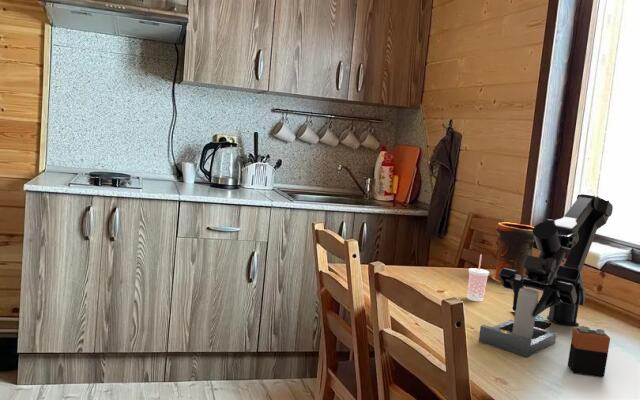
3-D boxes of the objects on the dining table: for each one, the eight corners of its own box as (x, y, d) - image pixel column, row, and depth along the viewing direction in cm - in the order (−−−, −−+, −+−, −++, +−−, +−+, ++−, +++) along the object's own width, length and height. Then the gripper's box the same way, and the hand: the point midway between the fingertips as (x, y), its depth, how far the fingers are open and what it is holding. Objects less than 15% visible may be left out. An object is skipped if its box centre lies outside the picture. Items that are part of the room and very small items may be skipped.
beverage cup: (480, 303, 187) (486, 257, 185) (461, 298, 190) (467, 253, 189) (488, 300, 192) (494, 255, 190) (469, 295, 195) (475, 251, 194)
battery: (566, 366, 140) (573, 323, 139) (598, 370, 139) (605, 327, 138) (572, 373, 136) (579, 329, 134) (604, 378, 135) (611, 333, 134)
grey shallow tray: (509, 328, 164) (512, 313, 163) (555, 342, 156) (557, 326, 155) (477, 342, 150) (479, 325, 150) (525, 358, 142) (527, 340, 142)
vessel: (497, 272, 233) (506, 220, 230) (535, 282, 225) (545, 228, 222) (483, 278, 221) (491, 223, 218) (522, 288, 213) (532, 231, 210)
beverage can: (535, 340, 154) (543, 293, 152) (519, 341, 152) (526, 293, 150) (524, 333, 158) (531, 288, 157) (507, 333, 157) (515, 287, 155)
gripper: (506, 236, 161) (481, 284, 154) (579, 251, 149) (555, 303, 142) (515, 263, 168) (491, 309, 161) (586, 279, 156) (563, 330, 149)
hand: (523, 312), depth 153 cm, fingers closed on beverage can, 5 cm apart
